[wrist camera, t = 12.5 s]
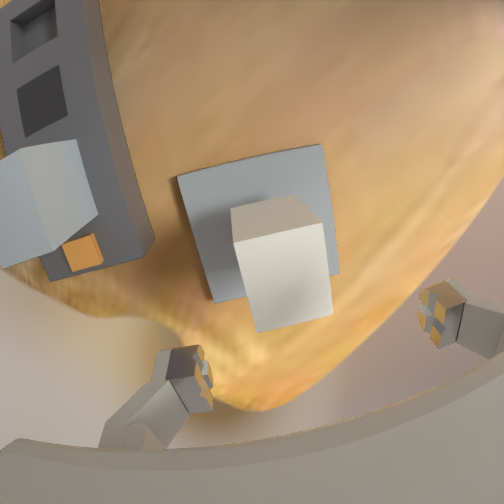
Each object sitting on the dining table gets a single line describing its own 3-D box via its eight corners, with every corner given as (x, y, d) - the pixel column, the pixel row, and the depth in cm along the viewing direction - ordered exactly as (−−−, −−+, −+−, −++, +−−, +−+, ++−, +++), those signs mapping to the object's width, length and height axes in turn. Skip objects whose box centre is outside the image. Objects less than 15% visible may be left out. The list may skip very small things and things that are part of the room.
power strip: (96, -22, 13) (75, -43, 10) (155, 238, 22) (141, 261, 18) (15, 23, 14) (-13, 14, 10) (69, 261, 22) (46, 286, 18)
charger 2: (287, 187, 21) (322, 222, 13) (299, 253, 23) (333, 314, 15) (229, 200, 21) (233, 243, 13) (246, 266, 23) (256, 333, 15)
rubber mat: (318, 143, 20) (322, 144, 20) (336, 269, 24) (339, 273, 24) (178, 175, 20) (176, 176, 20) (214, 298, 24) (214, 303, 24)
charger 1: (76, 139, 15) (20, 148, 10) (98, 214, 17) (53, 251, 12) (29, 161, 15) (-29, 179, 10) (51, 230, 17) (2, 269, 12)
